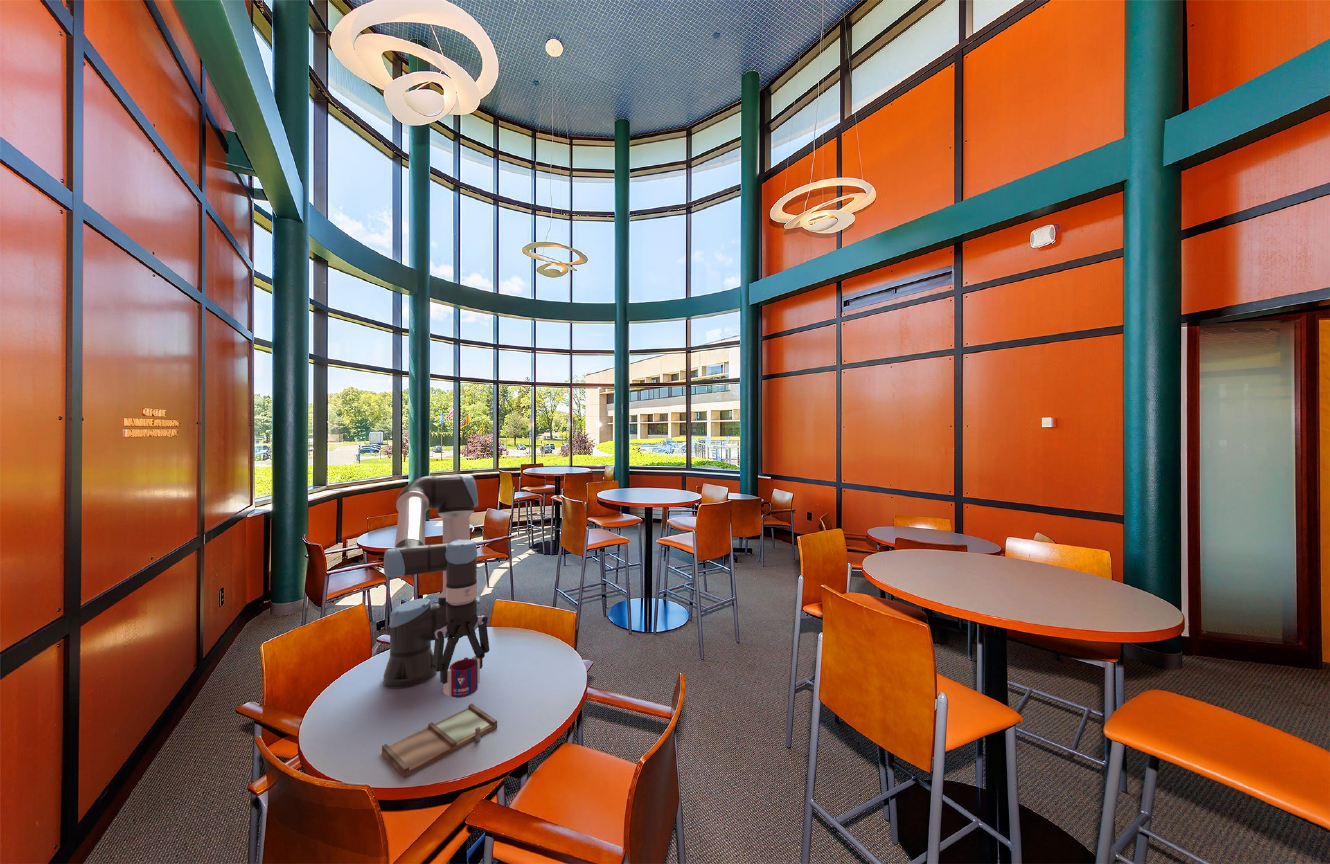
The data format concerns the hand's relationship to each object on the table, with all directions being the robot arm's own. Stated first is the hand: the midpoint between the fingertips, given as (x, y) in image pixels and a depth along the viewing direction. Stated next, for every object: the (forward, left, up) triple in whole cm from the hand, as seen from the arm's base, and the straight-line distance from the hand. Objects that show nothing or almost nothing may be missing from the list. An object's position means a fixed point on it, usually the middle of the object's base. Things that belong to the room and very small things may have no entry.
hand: (462, 687), depth 122 cm
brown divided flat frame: (0, -5, -11) cm, 12 cm away
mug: (0, +1, 0) cm, 1 cm away
